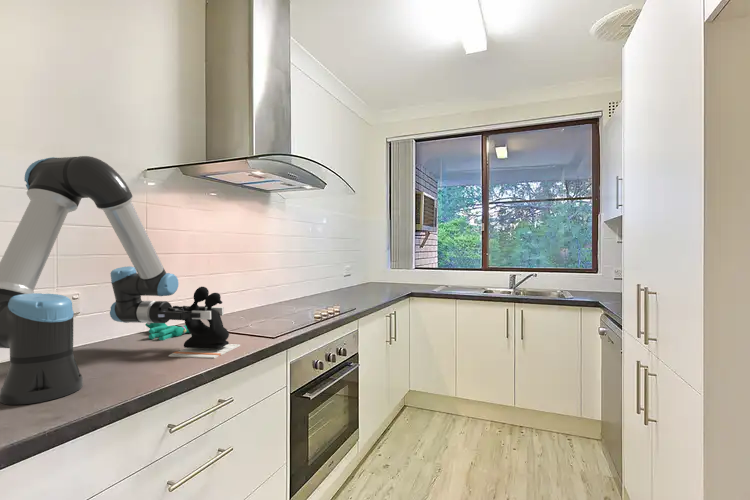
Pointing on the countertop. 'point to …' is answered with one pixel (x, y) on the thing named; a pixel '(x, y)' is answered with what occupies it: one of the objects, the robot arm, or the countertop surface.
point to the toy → (165, 330)
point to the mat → (204, 352)
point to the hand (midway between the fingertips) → (216, 313)
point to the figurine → (201, 332)
